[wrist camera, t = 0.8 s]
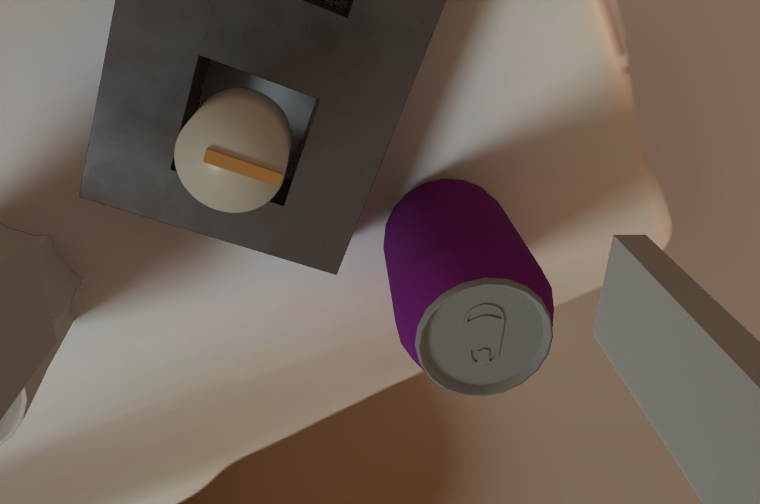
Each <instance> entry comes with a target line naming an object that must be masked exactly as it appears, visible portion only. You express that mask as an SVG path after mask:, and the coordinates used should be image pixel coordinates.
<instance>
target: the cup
mask: <svg viewBox="0 0 760 504" xmlns="http://www.w3.org/2000/svg"><path fill="white" fill-rule="evenodd" d="M0 238H30V239H31V242H32V246H33V250H34V254H35V258H36V262H37V266H38V269H39V273H40V277H41V281H42V285H43V289H44V293H45V296H46V300H47V304H48V308H49V312H50V316H51V320H52V323H53V327H54V331H55V335H56V339H57V343H56V344H55V346H54V347H53V348H52V350H51V351H50V352H49V354H48V355H47V357H46V358H45V359H44V361H43V362H42V363H41V365H40V366H39V368H38V369H37V370H36V372H35V373H34V374H33V376H32V377H31V379H30V380H29V381H28V383H27V384H26V386H25V387H24V388H23V390H22V391H21V392H20V394H19V395H18V397H17V398H16V399H15V401H14V402H13V403H12V405H11V406H10V408H9V409H8V410H7V412H6V413H5V414H4V416H3V417H2V419H1V420H0V446H1V445H2V444H3V443H5V442H6V441H7V440H8V439H10V438H11V437H12V436H13V434H14V433H15V431H16V430H17V428H18V427H19V425H20V424H21V422H22V421H23V419H24V417H25V415H26V413H27V411H28V408H29V406H30V404H31V402H32V400H33V398H34V396H35V394H36V392H37V390H38V388H39V386H40V384H41V382H42V379H43V377H44V375H45V373H46V371H47V368H48V367H49V365H50V363H51V361H52V360H53V358H54V356H55V354H56V352H57V351H58V349H59V347H60V345H61V343H62V341H63V340H64V338H65V336H66V334H67V332H68V330H69V329H70V327H71V325H72V323H73V321H74V318H73V315H72V312H71V309H70V307H71V303H72V298H73V295H74V293H75V291H76V290H77V288H78V286H79V285H80V283H81V282H82V280H83V278H82V277H81V276H79V275H77V274H76V273H74V272H73V271H71V270H70V269H69V268H68V266H67V265H66V264H65V262H64V261H63V260H62V259H61V257H60V256H59V255H58V253H57V252H56V251H55V249H54V247H53V243H52V238H51V235H43V236H34V235H30V234H27V233H24V232H21V231H17V230H14V229H11V228H7V227H5V226H4V225H3V224H1V223H0Z"/></svg>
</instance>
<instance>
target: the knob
mask: <svg viewBox="0 0 760 504" xmlns="http://www.w3.org/2000/svg"><path fill="white" fill-rule="evenodd" d="M291 144H292V134H291V128H290V125H289V122H288V119H287V117H286V115H285V114H284V112H283V111H282V109H281V108H280V107H279V106H278V105H277V104H276V103H275V102H274V101H273V100H272V99H271V98H269V97H268V96H266V95H264V94H263V93H260V92H258V91H255V90H252V89H247V88H230V89H226V90H222V91H220V92H218V93H216V94H214V95H212V96H211V97H210V98H208V99H207V100H206V101H205V102H204V103H203V105H202V106H201V107H200V108H199V109H198V110H197V112H196V113H195V114H194V115H193V116H192V117H191V119H190V120H189V121H188V122H187V123H186V125H185V126H184V127H183V129H182V130H181V132H180V134H179V136H178V138H177V141H176V144H175V150H174V160H175V167H176V170H177V173H178V176H179V178H180V180H181V182H182V184H183V185H184V187H185V188H186V189H187V191H188V192H189V193H190V194H191V195H192V196H193V197H194V198H196V199H197V200H198V201H200V202H201V203H203V204H204V205H206V206H208V207H210V208H213V209H215V210H219V211H223V212H229V213H240V212H247V211H251V210H254V209H256V208H259V207H261V206H262V205H264V204H266V203H267V202H268V201H270V200H271V199H272V198H273V197H274V196H275V194H276V193H277V192H278V190H279V189H280V187H281V185H282V182H283V180H284V176H285V172H286V168H287V163H288V159H289V154H290V150H291Z"/></svg>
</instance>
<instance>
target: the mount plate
mask: <svg viewBox="0 0 760 504" xmlns="http://www.w3.org/2000/svg"><path fill="white" fill-rule="evenodd" d="M445 2H446V0H350V1H349V4H348V7H347V10H344V9H341V8H339V7H336V6H334V5H331V4H329V3H326V2H324V1H322V0H115V6H114V11H113V16H112V22H111V27H110V33H109V38H108V43H107V49H106V54H105V59H104V65H103V70H102V76H101V81H100V86H99V92H98V97H97V103H96V108H95V113H94V119H93V124H92V129H91V135H90V140H89V146H88V151H87V156H86V162H85V167H84V172H83V178H82V183H81V189H80V194H79V197H81V198H85V199H88V200H91V201H94V202H98V203H101V204H104V205H108V206H111V207H114V208H118V209H121V210H124V211H127V212H131V213H134V214H137V215H141V216H144V217H147V218H151V219H154V220H157V221H160V222H164V223H167V224H170V225H174V226H177V227H180V228H184V229H187V230H190V231H193V232H197V233H200V234H203V235H207V236H210V237H213V238H217V239H220V240H223V241H226V242H230V243H233V244H236V245H240V246H243V247H246V248H250V249H253V250H256V251H259V252H263V253H266V254H269V255H273V256H276V257H279V258H283V259H286V260H289V261H292V262H296V263H299V264H302V265H306V266H309V267H312V268H316V269H319V270H322V271H325V272H329V273H332V274H335V275H337V272H338V270H339V267H340V265H341V262H342V260H343V257H344V255H345V252H346V250H347V247H348V245H349V242H350V240H351V237H352V235H353V232H354V230H355V227H356V225H357V222H358V220H359V217H360V215H361V212H362V210H363V207H364V205H365V202H366V200H367V197H368V195H369V192H370V190H371V187H372V185H373V182H374V180H375V177H376V175H377V172H378V170H379V167H380V165H381V162H382V160H383V157H384V155H385V152H386V150H387V147H388V145H389V142H390V140H391V137H392V135H393V132H394V129H395V127H396V124H397V122H398V119H399V117H400V114H401V112H402V109H403V107H404V104H405V102H406V99H407V97H408V94H409V92H410V89H411V87H412V84H413V82H414V79H415V77H416V74H417V72H418V69H419V67H420V64H421V62H422V59H423V57H424V54H425V52H426V49H427V47H428V44H429V42H430V39H431V37H432V34H433V32H434V29H435V27H436V24H437V22H438V19H439V17H440V14H441V12H442V9H443V7H444V4H445ZM210 59H211V60H214V61H217V62H219V63H222V64H225V65H228V66H230V67H233V68H236V69H239V70H241V71H244V72H247V73H249V74H252V75H255V76H258V77H260V78H263V79H266V80H268V81H271V82H274V83H277V84H279V85H282V86H285V87H288V88H290V89H293V90H296V91H298V92H301V93H304V94H307V95H309V96H312V97H315V98H317V99H316V102H315V105H314V108H313V111H312V114H311V117H310V120H309V123H308V126H307V129H306V132H305V135H304V138H303V140H302V143H301V146H300V149H299V152H298V155H297V158H296V161H295V164H294V167H293V170H292V173H291V176H290V179H289V180H286V179H284V180H283V182H282V185H281V187H280V189H279V190H278V192H277V193H276V194H275V196H274V197H273V198H272V199H271V200H270V201H268V202H267V203H266V204H264V205H262V206H261V207H259V208H256V209H254V210H251V211H247V212H240V213H229V212H223V211H219V210H215V209H213V208H210V207H208V206H206V205H204V204H203V203H201V202H200V201H198V200H197V199H196V198H194V197H193V196H192V195H191V194H190V193H189V192H188V191H187V189H186V188H185V187H184V185H183V184H182V182H181V180H180V178H179V176H178V173H177V170H176V167H175V160H174V150H175V144H176V141H177V138H178V136H179V134H180V132H181V130H182V129H183V127H184V126H185V125H186V123H187V122H188V121H189V120H190V119H191V117H192V116H193V115H194V114H195V113H196V111H197V107H198V103H199V99H200V95H201V91H202V87H203V83H204V79H205V76H206V72H207V68H208V64H209V60H210Z"/></svg>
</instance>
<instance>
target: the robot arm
mask: <svg viewBox="0 0 760 504" xmlns="http://www.w3.org/2000/svg"><path fill="white" fill-rule="evenodd" d="M593 336H594V337H595V339H596V340H597V342H598V343H599V345H600V346H601V348H602V349H603V351H604V352H605V354H606V356H607V357H608V359H609V360H610V361H611V363H612V365H613V366H614V368H615V369H616V371H617V372H618V374H619V375H620V377H621V379H622V380H623V382H624V383H625V385H626V386H627V388H628V389H629V391H630V392H631V394H632V395H633V397H634V398H635V400H636V401H637V403H638V405H639V406H640V408H641V409H642V410H643V412H644V414H645V415H646V417H647V418H648V420H649V421H650V423H651V424H652V426H653V427H654V429H655V430H656V432H657V434H658V435H659V437H660V438H661V440H662V441H663V443H664V444H665V446H666V447H667V449H668V451H669V452H670V453H671V455H672V456H673V458H674V459H675V461H676V463H677V464H678V466H679V467H680V469H681V470H682V472H683V473H684V475H685V476H686V478H687V480H688V481H689V483H690V484H691V485H692V487H693V489H694V490H695V492H696V493H697V495H698V496H699V498H700V499H701V501H702V503H703V504H760V342H759V341H758V340H757V339H756V338H755V337H754V336H753V335H752V334H751V333H750V332H748V331H747V330H746V329H745V328H744V327H743V326H742V325H741V324H740V323H739V322H738V321H737V320H736V319H735V318H733V317H732V316H731V315H730V314H729V313H728V312H727V311H726V310H725V309H724V308H723V307H722V306H721V305H720V304H719V303H718V302H717V301H716V300H714V299H713V298H712V297H711V296H710V295H709V294H708V293H707V292H706V291H705V290H704V289H703V288H702V287H701V286H699V285H698V284H697V283H696V282H695V281H694V280H693V279H692V278H691V277H690V276H689V275H688V274H687V273H686V272H685V271H684V270H682V269H681V268H680V267H679V266H678V265H677V264H676V263H675V262H674V261H673V260H672V259H671V258H670V257H669V256H667V255H666V254H665V253H664V252H663V251H662V250H661V249H660V248H659V247H658V246H657V245H656V244H655V243H654V242H653V241H652V240H651V239H649V238H648V237H647V236H646V235H613V240H612V244H611V249H610V254H609V258H608V263H607V268H606V273H605V277H604V282H603V287H602V291H601V296H600V301H599V306H598V310H597V315H596V320H595V325H594V329H593ZM56 343H57V339H56V335H55V331H54V327H53V323H52V320H51V316H50V312H49V308H48V304H47V300H46V296H45V293H44V289H43V285H42V281H41V277H40V273H39V269H38V266H37V262H36V258H35V254H34V250H33V246H32V242H31V239H30V238H0V420H1V419H2V417H3V416H4V414H5V413H6V412H7V410H8V409H9V408H10V406H11V405H12V403H13V402H14V401H15V399H16V398H17V397H18V395H19V394H20V392H21V391H22V390H23V388H24V387H25V386H26V384H27V383H28V381H29V380H30V379H31V377H32V376H33V374H34V373H35V372H36V370H37V369H38V368H39V366H40V365H41V363H42V362H43V361H44V359H45V358H46V357H47V355H48V354H49V352H50V351H51V350H52V348H53V347H54V346H55V344H56Z"/></svg>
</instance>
